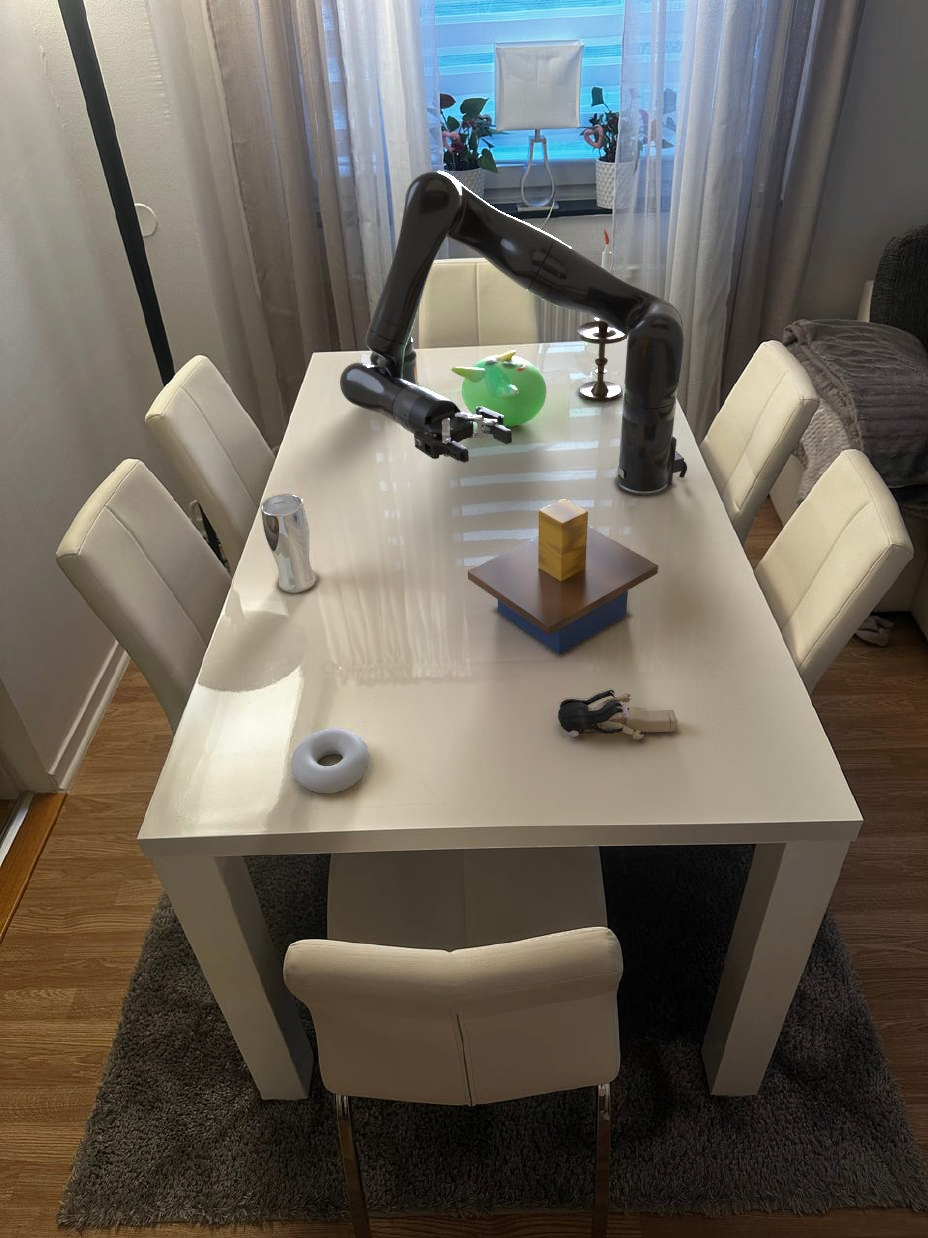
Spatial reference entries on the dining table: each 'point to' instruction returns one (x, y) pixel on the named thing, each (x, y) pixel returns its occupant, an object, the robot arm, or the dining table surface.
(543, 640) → the blue box
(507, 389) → the toy bird
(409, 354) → the supplement container
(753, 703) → the dining table surface
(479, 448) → the dining table surface
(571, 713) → the toy figure
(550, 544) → the block
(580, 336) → the candlestick
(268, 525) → the beer glass
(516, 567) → the board
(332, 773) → the donut
